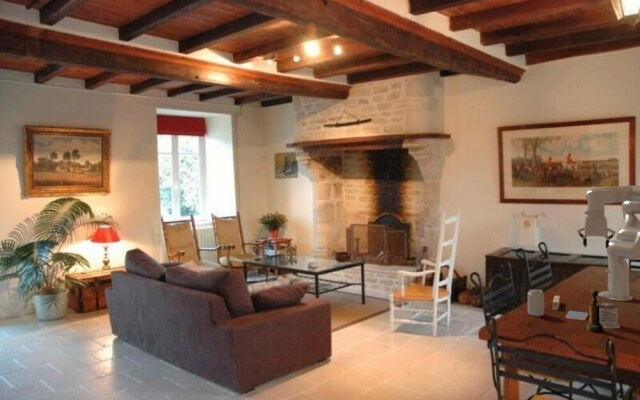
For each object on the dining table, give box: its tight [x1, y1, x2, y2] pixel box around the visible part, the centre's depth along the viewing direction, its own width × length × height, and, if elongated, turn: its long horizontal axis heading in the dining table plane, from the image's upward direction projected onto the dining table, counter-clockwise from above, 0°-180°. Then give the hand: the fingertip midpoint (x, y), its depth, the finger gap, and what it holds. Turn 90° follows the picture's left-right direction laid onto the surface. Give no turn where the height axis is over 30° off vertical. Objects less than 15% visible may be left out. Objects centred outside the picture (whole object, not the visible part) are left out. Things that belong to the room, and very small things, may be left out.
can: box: [527, 289, 545, 317], centre depth 247 cm, size 8×8×12 cm
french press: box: [590, 269, 621, 329], centre depth 228 cm, size 10×12×25 cm
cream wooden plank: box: [552, 295, 561, 311], centre depth 262 cm, size 16×2×4 cm, turn 152°
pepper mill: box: [585, 288, 604, 333], centre depth 221 cm, size 7×6×18 cm
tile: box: [565, 310, 589, 321], centre depth 242 cm, size 2×8×10 cm
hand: (596, 247), depth 260 cm, fingers open, 9 cm apart
